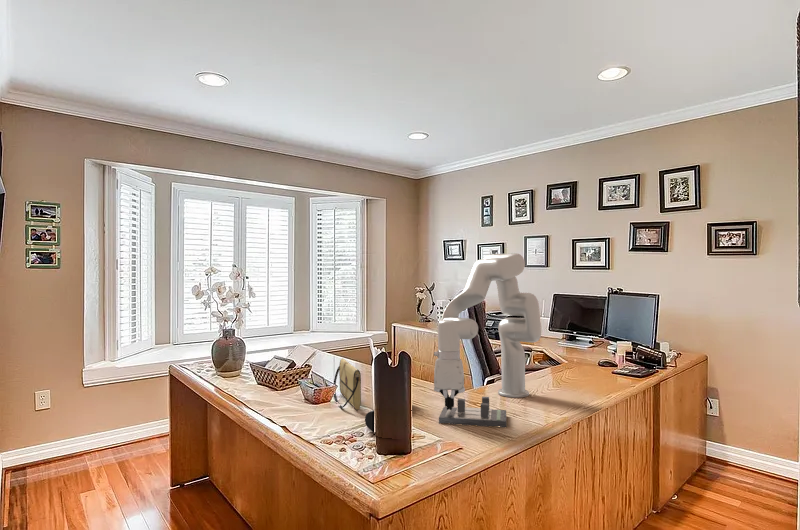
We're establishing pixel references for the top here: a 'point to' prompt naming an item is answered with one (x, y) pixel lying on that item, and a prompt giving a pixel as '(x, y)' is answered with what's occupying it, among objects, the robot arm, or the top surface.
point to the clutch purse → (349, 383)
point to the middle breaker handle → (461, 405)
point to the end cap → (370, 420)
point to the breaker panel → (473, 417)
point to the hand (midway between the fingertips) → (449, 408)
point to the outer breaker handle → (484, 410)
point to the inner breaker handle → (485, 400)
